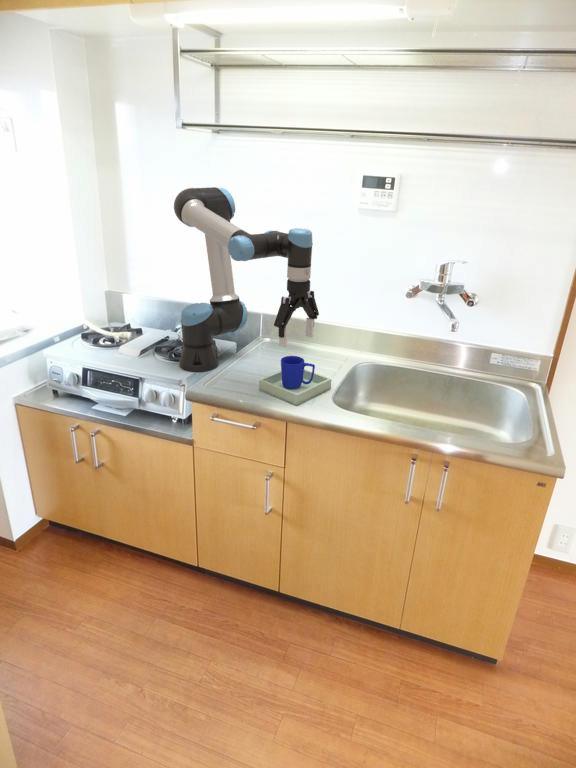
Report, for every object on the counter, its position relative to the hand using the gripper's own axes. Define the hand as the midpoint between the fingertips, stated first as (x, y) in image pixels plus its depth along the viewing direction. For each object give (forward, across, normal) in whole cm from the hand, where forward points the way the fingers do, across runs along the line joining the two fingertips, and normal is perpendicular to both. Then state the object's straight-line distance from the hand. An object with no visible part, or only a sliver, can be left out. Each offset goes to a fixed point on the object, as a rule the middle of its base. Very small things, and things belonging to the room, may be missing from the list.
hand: (296, 341), depth 171 cm
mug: (+18, +1, 0) cm, 18 cm away
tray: (+18, 0, 0) cm, 18 cm away
